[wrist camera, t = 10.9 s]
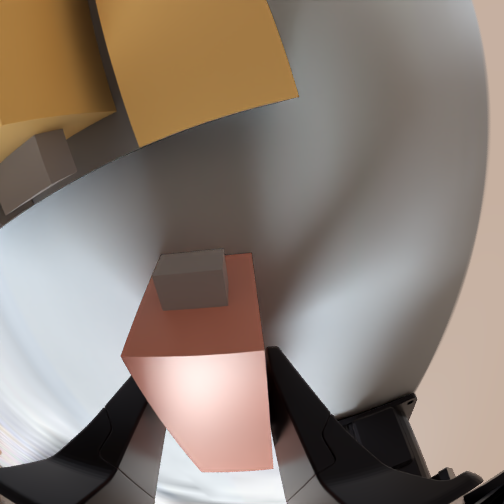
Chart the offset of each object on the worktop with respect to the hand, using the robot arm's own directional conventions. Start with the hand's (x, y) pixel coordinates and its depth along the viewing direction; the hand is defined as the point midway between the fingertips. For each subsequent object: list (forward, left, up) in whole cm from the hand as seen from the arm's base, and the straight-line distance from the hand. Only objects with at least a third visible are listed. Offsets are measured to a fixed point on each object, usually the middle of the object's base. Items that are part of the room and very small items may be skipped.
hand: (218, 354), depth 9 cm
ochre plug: (+12, +1, 0) cm, 12 cm away
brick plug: (-1, 0, -1) cm, 1 cm away
